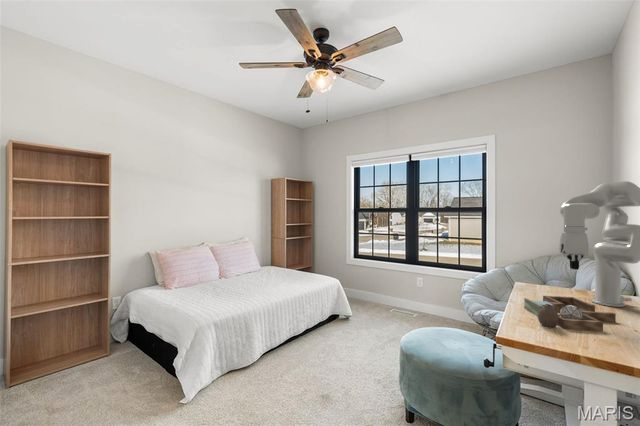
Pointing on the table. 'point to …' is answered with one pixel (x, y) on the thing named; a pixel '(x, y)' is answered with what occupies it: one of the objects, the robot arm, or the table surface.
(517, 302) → the table surface
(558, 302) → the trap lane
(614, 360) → the table surface
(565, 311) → the game die
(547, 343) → the table surface
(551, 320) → the vase
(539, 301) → the slate block
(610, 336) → the table surface
